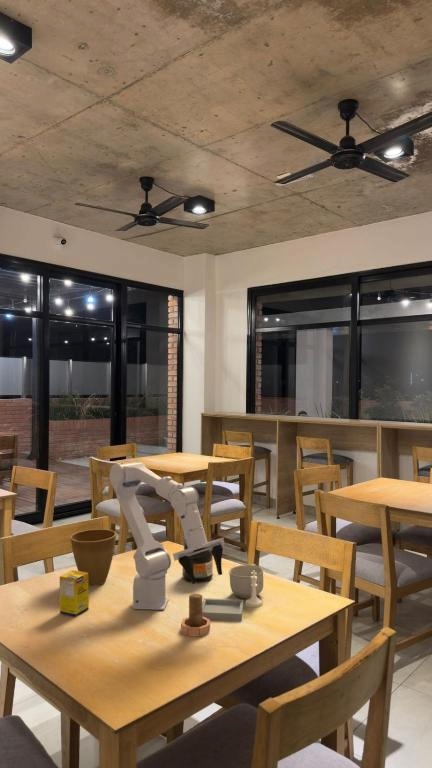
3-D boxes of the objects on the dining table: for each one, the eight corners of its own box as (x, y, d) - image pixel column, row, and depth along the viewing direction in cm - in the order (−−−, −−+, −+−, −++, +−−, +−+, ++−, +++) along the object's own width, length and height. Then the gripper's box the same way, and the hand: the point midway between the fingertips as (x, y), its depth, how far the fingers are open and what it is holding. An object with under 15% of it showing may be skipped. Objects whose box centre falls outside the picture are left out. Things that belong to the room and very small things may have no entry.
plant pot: (99, 571, 192) (99, 526, 192) (125, 582, 182) (125, 534, 182) (62, 582, 181) (61, 534, 181) (86, 594, 171) (86, 544, 171)
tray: (199, 618, 154) (199, 612, 154) (203, 604, 163) (203, 598, 163) (241, 620, 152) (241, 613, 152) (243, 605, 162) (243, 599, 162)
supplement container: (216, 581, 182) (216, 546, 182) (185, 584, 180) (185, 548, 180) (209, 571, 192) (209, 537, 192) (179, 573, 190) (179, 539, 190)
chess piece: (261, 607, 161) (261, 573, 161) (244, 606, 162) (244, 572, 162) (263, 601, 166) (263, 568, 166) (247, 599, 167) (247, 567, 167)
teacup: (253, 604, 163) (253, 578, 163) (222, 597, 169) (222, 571, 169) (273, 589, 175) (273, 564, 175) (244, 583, 181) (244, 559, 181)
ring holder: (179, 635, 143) (179, 627, 143) (184, 622, 151) (184, 615, 151) (208, 636, 142) (208, 629, 142) (211, 624, 150) (211, 616, 150)
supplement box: (89, 609, 160) (89, 572, 160) (76, 617, 154) (75, 578, 154) (72, 606, 162) (72, 569, 162) (59, 613, 157) (59, 575, 157)
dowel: (188, 632, 145) (188, 598, 145) (190, 626, 149) (190, 593, 149) (201, 633, 145) (201, 599, 145) (203, 627, 148) (203, 594, 148)
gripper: (170, 537, 147) (184, 588, 143) (220, 521, 151) (235, 570, 147) (167, 538, 153) (180, 587, 150) (215, 523, 157) (229, 570, 154)
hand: (207, 579), depth 149 cm, fingers open, 7 cm apart
